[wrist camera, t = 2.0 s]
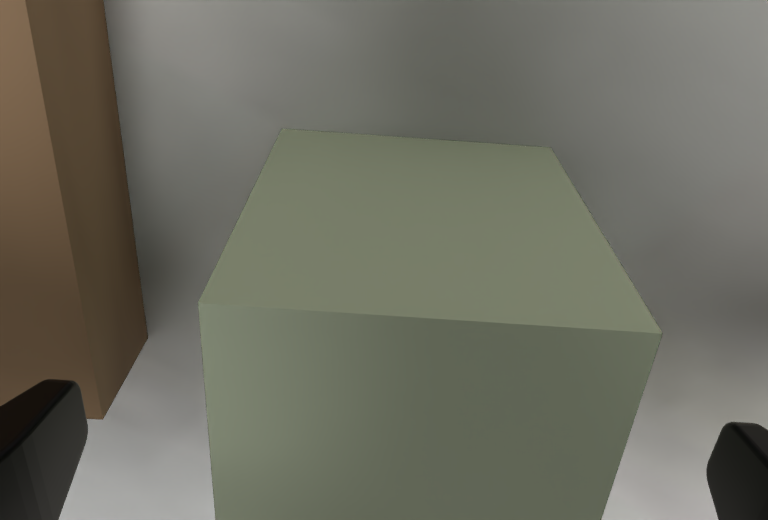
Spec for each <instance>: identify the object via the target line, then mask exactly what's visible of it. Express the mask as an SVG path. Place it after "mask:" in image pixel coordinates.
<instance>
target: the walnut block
mask: <svg viewBox="0 0 768 520" xmlns="http://www.w3.org/2000/svg"><path fill="white" fill-rule="evenodd" d="M147 339H148V335H147V327H146V320H145V312H144V304H143V297H142V289H141V282H140V274H139V267H138V259H137V251H136V244H135V236H134V229H133V221H132V214H131V206H130V198H129V191H128V183H127V176H126V168H125V161H124V153H123V145H122V138H121V130H120V123H119V115H118V108H117V100H116V92H115V85H114V77H113V70H112V62H111V55H110V47H109V39H108V32H107V24H106V17H105V9H104V2H103V0H0V406H1V405H3V404H5V403H6V402H8V401H10V400H11V399H13V398H15V397H16V396H18V395H19V394H21V393H23V392H24V391H26V390H28V389H29V388H31V387H33V386H34V385H36V384H38V383H39V382H41V381H43V380H46V379H61V380H73V381H75V382H77V383H78V385H79V386H80V389H81V393H82V398H83V403H84V409H85V414H86V419H103V418H104V416H105V415H106V413H107V411H108V409H109V407H110V406H111V404H112V402H113V400H114V398H115V397H116V395H117V393H118V391H119V389H120V388H121V386H122V384H123V382H124V380H125V379H126V377H127V375H128V373H129V371H130V369H131V368H132V366H133V364H134V362H135V360H136V359H137V357H138V355H139V353H140V351H141V350H142V348H143V346H144V344H145V342H146V341H147Z"/></svg>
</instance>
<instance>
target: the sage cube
mask: <svg viewBox="0 0 768 520" xmlns="http://www.w3.org/2000/svg"><path fill="white" fill-rule="evenodd" d="M198 311H199V323H200V336H201V348H202V360H203V372H204V385H205V397H206V409H207V422H208V434H209V446H210V458H211V471H212V483H213V495H214V508H215V520H601V518H602V515H603V512H604V509H605V506H606V503H607V500H608V497H609V494H610V491H611V488H612V485H613V482H614V479H615V476H616V473H617V470H618V467H619V464H620V461H621V458H622V455H623V452H624V449H625V446H626V443H627V440H628V437H629V434H630V431H631V428H632V425H633V422H634V419H635V416H636V413H637V410H638V407H639V403H640V400H641V397H642V394H643V391H644V388H645V385H646V382H647V379H648V376H649V373H650V370H651V367H652V364H653V361H654V358H655V355H656V352H657V349H658V346H659V343H660V340H661V337H662V334H663V333H662V332H661V330H660V328H659V327H658V325H657V323H656V322H655V320H654V318H653V317H652V315H651V313H650V312H649V310H648V308H647V307H646V305H645V303H644V302H643V300H642V298H641V297H640V295H639V293H638V292H637V290H636V288H635V287H634V285H633V283H632V282H631V280H630V278H629V277H628V275H627V273H626V272H625V270H624V269H623V267H622V265H621V264H620V262H619V260H618V259H617V257H616V255H615V254H614V252H613V250H612V249H611V247H610V245H609V244H608V242H607V240H606V239H605V237H604V235H603V234H602V232H601V230H600V229H599V227H598V225H597V224H596V222H595V220H594V219H593V217H592V215H591V214H590V212H589V210H588V209H587V207H586V205H585V204H584V202H583V200H582V199H581V197H580V195H579V194H578V192H577V191H576V189H575V187H574V186H573V184H572V182H571V181H570V179H569V177H568V176H567V174H566V172H565V171H564V169H563V167H562V166H561V164H560V162H559V161H558V159H557V157H556V156H555V154H554V152H553V151H552V149H551V147H537V146H523V145H508V144H494V143H480V142H466V141H452V140H437V139H423V138H409V137H395V136H381V135H367V134H352V133H338V132H324V131H310V130H296V129H281V132H280V134H279V136H278V138H277V140H276V142H275V144H274V146H273V148H272V150H271V152H270V154H269V156H268V159H267V161H266V163H265V165H264V167H263V169H262V171H261V173H260V175H259V177H258V179H257V181H256V183H255V186H254V188H253V190H252V192H251V194H250V196H249V198H248V200H247V202H246V204H245V206H244V208H243V210H242V213H241V215H240V217H239V219H238V221H237V223H236V225H235V227H234V229H233V231H232V233H231V235H230V237H229V240H228V242H227V244H226V246H225V248H224V250H223V252H222V254H221V256H220V258H219V260H218V262H217V264H216V266H215V269H214V271H213V273H212V275H211V277H210V279H209V281H208V283H207V285H206V287H205V289H204V291H203V293H202V296H201V298H200V300H199V302H198Z"/></svg>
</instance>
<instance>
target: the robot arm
mask: <svg viewBox="0 0 768 520" xmlns="http://www.w3.org/2000/svg"><path fill="white" fill-rule="evenodd" d="M87 434H88V424H87V419H86V414H85V409H84V403H83V398H82V393H81V389H80V386H79V385H78V383H77V382H75V381H73V380H61V379H46V380H43V381H41V382H39V383H38V384H36V385H34V386H33V387H31V388H29V389H28V390H26V391H24V392H23V393H21V394H19V395H18V396H16V397H15V398H13V399H11V400H10V401H8V402H6V403H5V404H3V405H1V406H0V520H58V519H59V517H60V514H61V511H62V508H63V505H64V502H65V500H66V497H67V494H68V491H69V488H70V486H71V483H72V480H73V477H74V474H75V472H76V469H77V466H78V463H79V460H80V458H81V455H82V452H83V449H84V446H85V443H86V440H87ZM707 481H708V485H709V488H710V492H711V495H712V499H713V502H714V506H715V509H716V512H717V516H718V519H719V520H768V430H767V429H765V428H764V427H762V426H761V425H758V424H755V423H743V422H730V423H727V424H726V425H725V426H724V427H723V428H722V430H721V432H720V435H719V437H718V439H717V442H716V444H715V447H714V449H713V451H712V454H711V456H710V459H709V461H708V464H707Z"/></svg>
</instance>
